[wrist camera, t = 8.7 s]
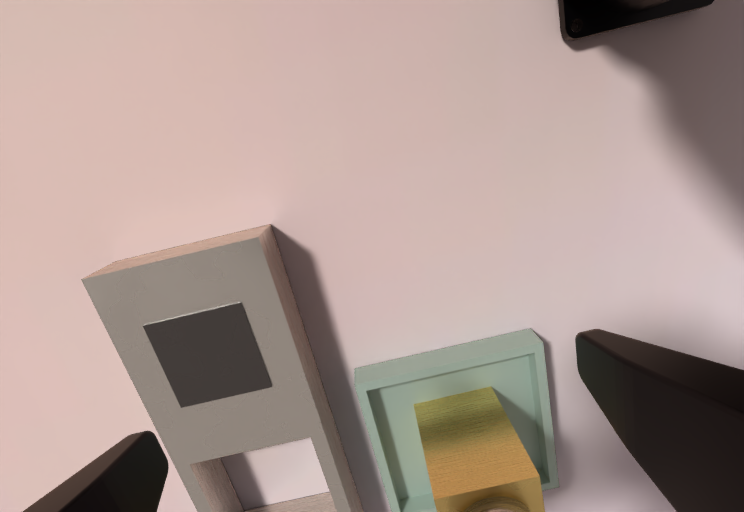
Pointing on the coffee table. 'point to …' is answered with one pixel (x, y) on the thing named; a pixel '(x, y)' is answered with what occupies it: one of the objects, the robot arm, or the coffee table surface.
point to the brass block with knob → (476, 456)
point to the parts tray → (445, 378)
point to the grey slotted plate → (222, 362)
